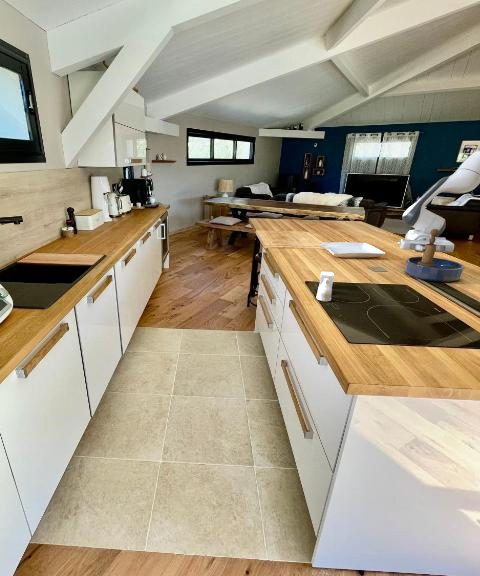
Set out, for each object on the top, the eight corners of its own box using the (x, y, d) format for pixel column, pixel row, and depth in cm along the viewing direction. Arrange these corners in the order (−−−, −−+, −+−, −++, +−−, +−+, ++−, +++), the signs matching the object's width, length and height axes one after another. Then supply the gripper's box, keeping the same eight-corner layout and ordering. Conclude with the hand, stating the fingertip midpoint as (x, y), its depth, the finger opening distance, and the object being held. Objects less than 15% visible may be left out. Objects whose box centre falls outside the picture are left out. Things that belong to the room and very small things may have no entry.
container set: (319, 283, 134) (321, 271, 132) (332, 284, 132) (334, 272, 130) (315, 300, 117) (317, 286, 115) (330, 302, 115) (333, 288, 113)
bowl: (450, 270, 147) (453, 258, 145) (468, 285, 129) (472, 271, 127) (399, 267, 154) (402, 255, 152) (410, 280, 136) (413, 266, 134)
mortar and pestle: (413, 266, 145) (423, 227, 139) (429, 266, 144) (439, 227, 137) (420, 270, 139) (430, 230, 133) (436, 271, 138) (448, 230, 131)
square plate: (364, 248, 191) (365, 241, 190) (385, 260, 166) (387, 252, 164) (318, 247, 194) (319, 241, 192) (332, 259, 168) (333, 252, 167)
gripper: (398, 235, 152) (404, 241, 140) (448, 237, 145) (460, 244, 133) (395, 247, 154) (401, 254, 142) (445, 250, 147) (456, 258, 135)
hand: (430, 249), depth 137 cm, fingers closed on mortar and pestle, 4 cm apart
